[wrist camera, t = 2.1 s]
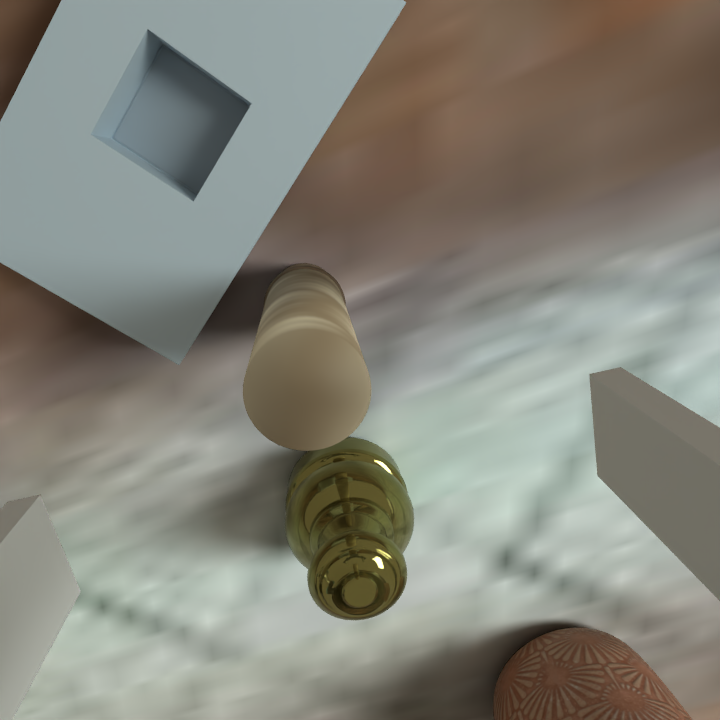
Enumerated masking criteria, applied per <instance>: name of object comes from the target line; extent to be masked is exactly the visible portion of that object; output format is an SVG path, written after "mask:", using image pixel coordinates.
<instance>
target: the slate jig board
mask: <svg viewBox="0 0 720 720" xmlns="http://www.w3.org/2000/svg"><path fill="white" fill-rule="evenodd" d="M405 4H406V2H405V1H404V0H61V2H60V4H59V6H58V8H57V10H56V12H55V14H54V16H53V18H52V20H51V22H50V24H49V26H48V28H47V30H46V32H45V34H44V36H43V38H42V40H41V42H40V44H39V46H38V48H37V50H36V52H35V54H34V56H33V58H32V60H31V62H30V64H29V66H28V68H27V70H26V72H25V74H24V76H23V78H22V80H21V82H20V84H19V86H18V88H17V90H16V92H15V94H14V96H13V97H12V99H11V101H10V103H9V105H8V107H7V109H6V111H5V113H4V115H3V117H2V119H1V121H0V263H2V264H4V265H6V266H7V267H9V268H11V269H12V270H14V271H16V272H18V273H19V274H21V275H23V276H25V277H26V278H28V279H30V280H32V281H33V282H35V283H37V284H39V285H40V286H42V287H44V288H46V289H47V290H49V291H51V292H53V293H54V294H56V295H58V296H60V297H61V298H63V299H65V300H66V301H68V302H70V303H72V304H73V305H75V306H77V307H79V308H80V309H82V310H84V311H86V312H87V313H89V314H91V315H93V316H94V317H96V318H98V319H100V320H101V321H103V322H105V323H107V324H108V325H110V326H112V327H114V328H115V329H117V330H119V331H120V332H122V333H124V334H126V335H127V336H129V337H131V338H133V339H134V340H136V341H138V342H140V343H141V344H143V345H145V346H147V347H148V348H150V349H152V350H154V351H155V352H157V353H159V354H161V355H162V356H164V357H166V358H168V359H169V360H171V361H173V362H175V363H176V364H178V365H180V363H181V361H182V360H183V358H184V357H185V355H186V354H187V352H188V350H189V349H190V347H191V346H192V344H193V343H194V341H195V339H196V338H197V336H198V335H199V333H200V331H201V330H202V328H203V327H204V325H205V324H206V322H207V320H208V319H209V317H210V316H211V314H212V312H213V311H214V309H215V308H216V306H217V304H218V303H219V301H220V300H221V298H222V296H223V295H224V293H225V292H226V290H227V288H228V287H229V285H230V284H231V282H232V280H233V279H234V277H235V276H236V274H237V272H238V271H239V269H240V268H241V266H242V264H243V263H244V261H245V260H246V258H247V256H248V255H249V253H250V252H251V250H252V249H253V247H254V245H255V244H256V242H257V241H258V239H259V237H260V236H261V234H262V233H263V231H264V229H265V228H266V226H267V225H268V223H269V221H270V220H271V218H272V217H273V215H274V213H275V212H276V210H277V209H278V207H279V205H280V204H281V202H282V201H283V199H284V197H285V196H286V194H287V193H288V191H289V189H290V188H291V186H292V185H293V183H294V181H295V180H296V178H297V177H298V175H299V174H300V172H301V170H302V169H303V167H304V166H305V164H306V162H307V161H308V159H309V158H310V156H311V154H312V153H313V151H314V150H315V148H316V146H317V145H318V143H319V142H320V140H321V138H322V137H323V135H324V134H325V132H326V130H327V129H328V127H329V126H330V124H331V122H332V121H333V119H334V118H335V116H336V114H337V113H338V111H339V110H340V108H341V106H342V105H343V103H344V102H345V100H346V99H347V97H348V95H349V94H350V92H351V91H352V89H353V87H354V86H355V84H356V83H357V81H358V79H359V78H360V76H361V75H362V73H363V71H364V70H365V68H366V67H367V65H368V63H369V62H370V60H371V59H372V57H373V55H374V54H375V52H376V51H377V49H378V47H379V46H380V44H381V43H382V41H383V39H384V38H385V36H386V35H387V33H388V31H389V30H390V28H391V27H392V25H393V23H394V22H395V20H396V19H397V17H398V15H399V14H400V12H401V10H402V9H403V7H404V5H405Z"/></svg>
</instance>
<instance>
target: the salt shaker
mask: <svg viewBox="0 0 720 720" xmlns="http://www.w3.org/2000/svg"><path fill="white" fill-rule="evenodd" d="M413 527H414V511H413V506H412V503H411V500H410V498H409V495H408V493H407V488H406V485H405V482H404V480H403V478H402V476H401V474H400V471H399V469H398V466H397V464H396V463H395V461H394V460H393V458H392V457H391V456H390V455H389V454H388V453H387V452H386V451H385V450H384V449H382V448H381V447H379V446H378V445H376V444H374V443H372V442H369V441H366V440H363V439H358V438H345V439H344V440H342V441H341V442H339V443H337V444H335V445H333V446H330V447H327V448H324V449H319V450H312V451H308V452H307V453H306V454H304V455H303V456H302V457H301V459H300V460H299V461H298V462H297V464H296V465H295V467H294V469H293V471H292V473H291V475H290V478H289V482H288V491H287V497H286V516H285V533H286V538H287V541H288V544H289V547H290V549H291V551H292V552H293V554H294V556H295V557H296V558H297V559H298V561H299V562H300V563H301V564H302V565H303V566H305V567H306V568H307V569H308V574H307V581H308V587H309V591H310V594H311V596H312V598H313V600H314V601H315V603H316V604H317V605H318V606H319V607H320V608H321V609H322V610H323V611H325V612H326V613H328V614H329V615H331V616H334V617H336V618H340V619H344V620H364V619H369V618H372V617H375V616H377V615H380V614H381V613H383V612H385V611H386V610H388V609H389V608H390V607H392V606H393V605H394V604H395V603H396V602H397V600H398V599H399V598H400V596H401V595H402V593H403V591H404V588H405V585H406V581H407V567H406V562H405V559H404V556H403V552H404V551H405V549H406V547H407V545H408V544H409V541H410V539H411V536H412V532H413Z"/></svg>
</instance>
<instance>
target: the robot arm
mask: <svg viewBox="0 0 720 720" xmlns="http://www.w3.org/2000/svg"><path fill="white" fill-rule="evenodd" d="M589 375H590V387H591V400H592V413H593V425H594V438H595V450H596V463H597V475H598V477H599V478H600V479H601V480H602V481H603V482H604V483H605V484H606V485H607V486H608V487H609V488H610V489H611V490H612V491H613V492H614V493H615V494H616V495H617V496H618V497H619V498H620V499H621V500H622V501H623V502H624V503H625V504H626V505H627V506H628V507H629V508H630V509H631V510H632V511H633V512H634V513H635V514H636V515H637V516H638V518H639V519H640V520H641V521H642V522H643V523H644V524H645V525H646V526H647V527H648V528H649V529H650V530H651V531H652V532H653V533H654V534H655V535H656V536H657V537H658V538H659V539H660V540H661V541H662V542H663V543H664V544H665V545H666V546H667V547H668V548H669V549H670V550H671V551H672V552H673V553H674V554H675V555H676V556H677V557H678V559H679V560H680V561H681V562H682V563H683V564H684V565H685V566H686V567H687V568H688V569H689V570H690V571H691V572H692V573H693V574H694V575H695V576H696V577H697V578H698V579H699V580H700V581H701V582H702V583H703V584H704V585H705V586H706V587H707V588H708V589H709V590H710V591H711V592H712V593H713V594H714V595H715V596H716V597H717V598H718V599H719V601H720V428H719V427H718V426H716V425H714V424H713V423H711V422H709V421H708V420H706V419H704V418H703V417H701V416H700V415H698V414H696V413H695V412H693V411H691V410H690V409H688V408H686V407H685V406H683V405H682V404H680V403H678V402H677V401H675V400H673V399H672V398H670V397H668V396H667V395H665V394H663V393H662V392H660V391H659V390H657V389H655V388H654V387H652V386H650V385H649V384H647V383H645V382H644V381H642V380H641V379H639V378H637V377H636V376H634V375H632V374H631V373H629V372H627V371H626V370H624V369H623V368H621V367H620V368H615V369H611V370H606V371H602V372H597V373H593V374H589ZM80 592H81V591H80V589H79V586H78V584H77V581H76V579H75V577H74V574H73V572H72V569H71V567H70V565H69V562H68V560H67V557H66V555H65V553H64V550H63V548H62V545H61V543H60V541H59V538H58V536H57V533H56V531H55V529H54V526H53V524H52V521H51V519H50V517H49V514H48V512H47V509H46V507H45V505H44V502H43V500H42V497H41V495H36V496H32V497H27V498H23V499H18V500H14V501H9V502H7V503H6V504H5V505H4V506H3V507H2V508H1V510H0V720H13V718H14V716H15V714H16V712H17V710H18V708H19V707H20V705H21V703H22V701H23V699H24V697H25V695H26V693H27V691H28V690H29V688H30V686H31V684H32V682H33V680H34V678H35V676H36V675H37V673H38V671H39V669H40V667H41V665H42V663H43V661H44V659H45V658H46V656H47V654H48V652H49V650H50V648H51V646H52V644H53V643H54V641H55V639H56V637H57V635H58V633H59V631H60V629H61V628H62V626H63V624H64V622H65V620H66V618H67V616H68V614H69V612H70V611H71V609H72V607H73V605H74V603H75V601H76V599H77V597H78V596H79V594H80Z"/></svg>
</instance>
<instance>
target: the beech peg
mask: <svg viewBox="0 0 720 720" xmlns="http://www.w3.org/2000/svg"><path fill="white" fill-rule="evenodd" d="M243 399H244V404H245V408H246V411H247V413H248V416H249V418H250V419H251V421H252V423H253V424H254V425H255V427H256V428H257V429H258V430H259V431H260V432H261V433H262V434H263V435H264V436H265V437H267V438H268V439H269V440H271V441H273V442H274V443H276V444H278V445H281V446H283V447H286V448H289V449H294V450H300V451H312V450H319V449H324V448H327V447H330V446H333V445H335V444H337V443H339V442H341V441H342V440H344V439H345V438H347V437H348V436H349V435H350V434H352V433H353V432H354V431H355V430H356V429H357V427H358V426H359V425H360V423H361V422H362V421H363V419H364V417H365V415H366V413H367V410H368V408H369V404H370V399H371V381H370V376H369V373H368V370H367V367H366V364H365V361H364V358H363V355H362V353H361V350H360V347H359V344H358V341H357V338H356V335H355V332H354V329H353V326H352V323H351V320H350V317H349V315H348V312H347V309H346V302H345V297H344V294H343V291H342V289H341V287H340V285H339V284H338V282H337V281H336V280H335V279H334V277H332V276H331V275H330V274H329V273H327V272H326V271H325V270H323V269H322V268H320V267H318V266H316V265H313V264H308V263H301V264H295V265H293V266H290V267H288V268H287V269H285V270H284V271H283V272H282V273H280V274H279V275H278V276H277V277H276V278H275V279H274V280H273V281H272V282H271V284H270V286H269V287H268V290H267V292H266V295H265V300H264V310H263V313H262V317H261V320H260V324H259V328H258V331H257V335H256V338H255V342H254V346H253V349H252V353H251V356H250V360H249V363H248V367H247V371H246V374H245V378H244V384H243Z"/></svg>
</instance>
